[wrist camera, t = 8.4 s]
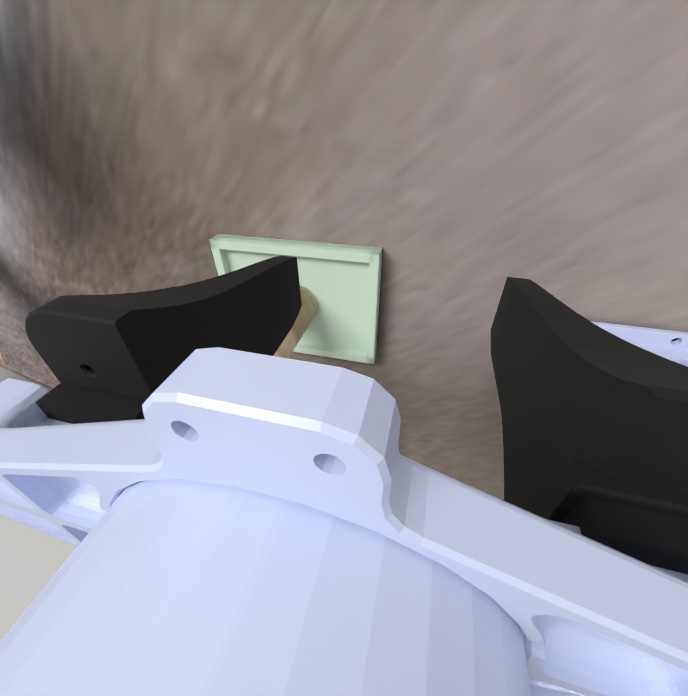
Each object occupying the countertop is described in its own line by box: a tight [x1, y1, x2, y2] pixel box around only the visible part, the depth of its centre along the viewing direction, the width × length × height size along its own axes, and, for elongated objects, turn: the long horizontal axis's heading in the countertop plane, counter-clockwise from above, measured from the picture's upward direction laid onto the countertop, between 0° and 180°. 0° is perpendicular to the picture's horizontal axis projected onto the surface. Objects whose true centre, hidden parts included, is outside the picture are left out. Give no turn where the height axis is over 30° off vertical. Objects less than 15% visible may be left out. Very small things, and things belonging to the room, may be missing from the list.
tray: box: [209, 234, 382, 364], centre depth 25 cm, size 12×9×1 cm
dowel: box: [274, 286, 318, 359], centre depth 22 cm, size 3×3×9 cm
